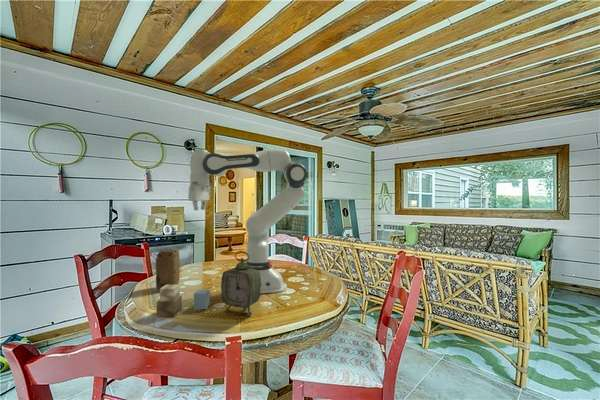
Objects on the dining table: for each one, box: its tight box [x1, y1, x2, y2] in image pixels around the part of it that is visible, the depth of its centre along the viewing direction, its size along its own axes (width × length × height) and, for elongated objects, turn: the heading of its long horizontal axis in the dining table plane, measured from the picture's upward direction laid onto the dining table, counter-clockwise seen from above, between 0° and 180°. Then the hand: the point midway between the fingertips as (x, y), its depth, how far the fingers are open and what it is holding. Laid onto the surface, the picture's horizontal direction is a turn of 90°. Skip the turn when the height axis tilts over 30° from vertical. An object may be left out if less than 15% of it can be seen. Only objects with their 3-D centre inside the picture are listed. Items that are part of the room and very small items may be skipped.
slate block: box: [193, 289, 211, 311], centre depth 120 cm, size 5×5×7 cm
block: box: [155, 248, 181, 289], centre depth 147 cm, size 11×8×20 cm
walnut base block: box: [156, 295, 183, 318], centre depth 114 cm, size 7×7×6 cm
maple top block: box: [159, 284, 181, 301], centre depth 114 cm, size 6×6×5 cm
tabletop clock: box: [220, 250, 262, 317], centre depth 116 cm, size 14×9×25 cm, turn 66°
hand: (199, 210), depth 141 cm, fingers open, 8 cm apart
